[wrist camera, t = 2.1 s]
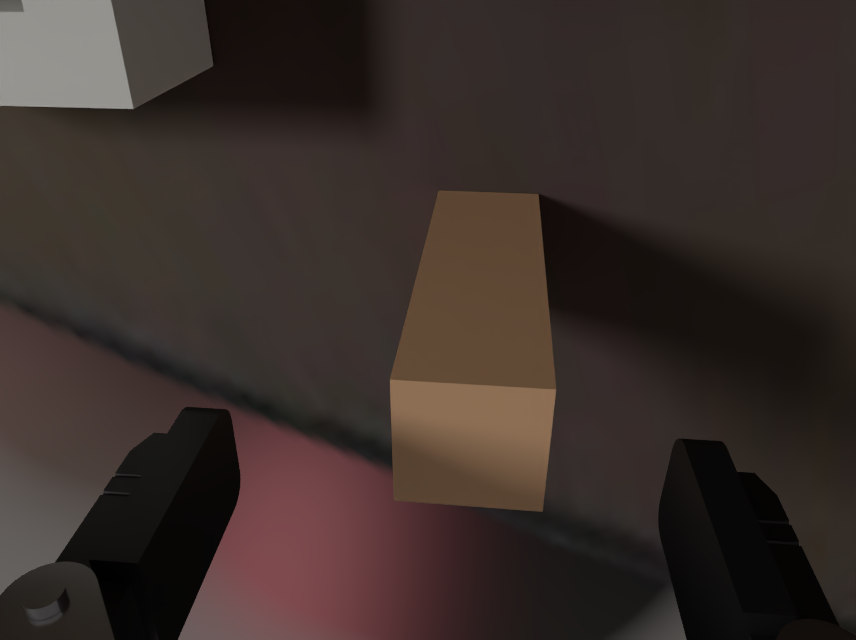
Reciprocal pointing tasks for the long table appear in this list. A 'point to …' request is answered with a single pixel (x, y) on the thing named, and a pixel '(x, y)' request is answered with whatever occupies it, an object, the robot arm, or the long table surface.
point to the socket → (99, 51)
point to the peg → (476, 359)
